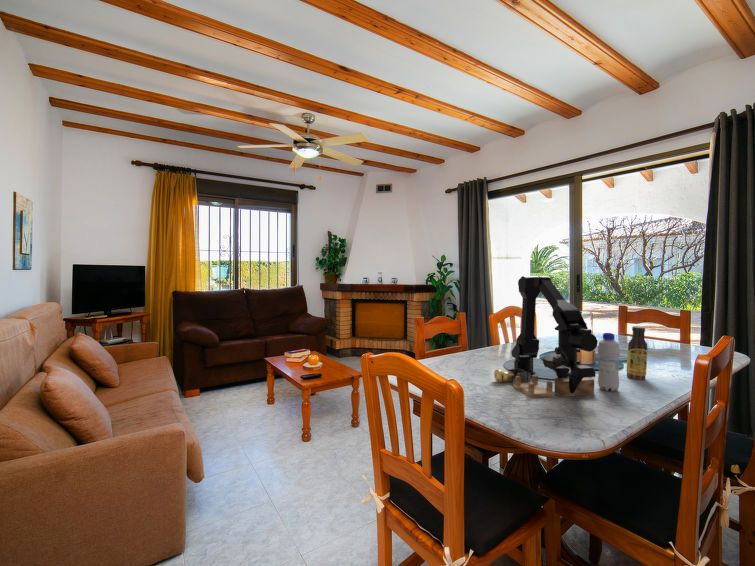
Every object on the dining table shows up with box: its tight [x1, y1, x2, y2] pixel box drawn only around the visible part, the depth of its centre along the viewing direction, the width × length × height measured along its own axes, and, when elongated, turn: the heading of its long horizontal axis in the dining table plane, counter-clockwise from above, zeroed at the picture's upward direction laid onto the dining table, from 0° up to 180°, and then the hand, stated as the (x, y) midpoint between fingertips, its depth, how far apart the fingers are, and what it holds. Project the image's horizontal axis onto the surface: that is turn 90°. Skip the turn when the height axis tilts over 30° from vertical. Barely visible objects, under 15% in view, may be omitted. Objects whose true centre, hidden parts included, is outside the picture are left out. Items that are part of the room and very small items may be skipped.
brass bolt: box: [493, 369, 515, 383], centre depth 139 cm, size 6×5×5 cm
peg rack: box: [512, 374, 556, 399], centre depth 128 cm, size 12×8×4 cm, turn 11°
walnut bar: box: [553, 377, 595, 398], centre depth 125 cm, size 12×4×5 cm, turn 100°
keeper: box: [507, 367, 531, 383], centre depth 140 cm, size 5×8×4 cm, turn 11°
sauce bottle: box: [626, 326, 648, 381], centre depth 141 cm, size 6×6×20 cm
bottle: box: [597, 332, 621, 392], centre depth 129 cm, size 7×7×20 cm
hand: (567, 390), depth 125 cm, fingers closed on walnut bar, 4 cm apart
